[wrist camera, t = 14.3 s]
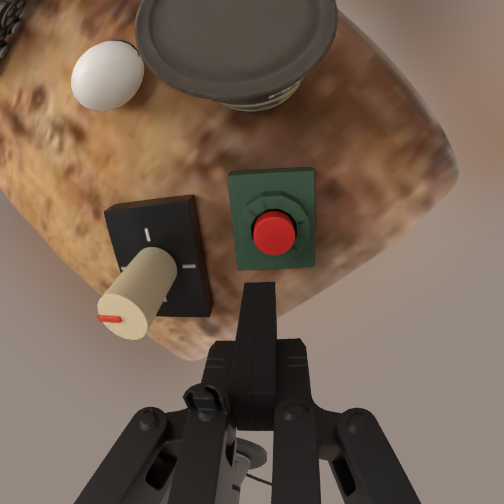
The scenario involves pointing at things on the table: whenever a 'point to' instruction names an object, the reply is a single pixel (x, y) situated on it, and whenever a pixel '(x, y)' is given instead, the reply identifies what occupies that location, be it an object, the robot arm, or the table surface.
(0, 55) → the game controller
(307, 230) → the button box
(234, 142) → the table surface
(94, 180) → the table surface
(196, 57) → the coffee can
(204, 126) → the table surface
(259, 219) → the red button
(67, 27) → the table surface
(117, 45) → the white sphere
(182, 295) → the panel
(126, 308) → the dial
